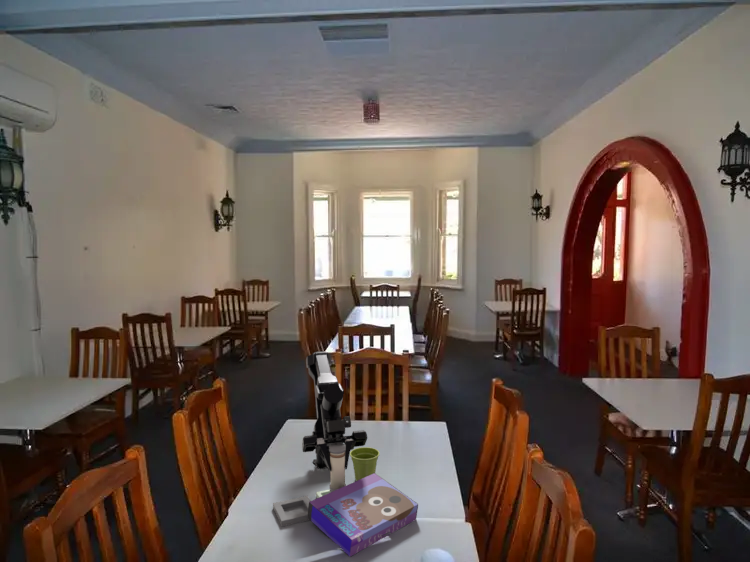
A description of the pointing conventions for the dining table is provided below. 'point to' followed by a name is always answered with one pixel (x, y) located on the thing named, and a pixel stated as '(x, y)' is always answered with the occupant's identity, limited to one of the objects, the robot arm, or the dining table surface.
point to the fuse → (337, 466)
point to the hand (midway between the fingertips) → (338, 469)
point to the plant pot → (364, 461)
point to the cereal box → (362, 513)
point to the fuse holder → (292, 510)
